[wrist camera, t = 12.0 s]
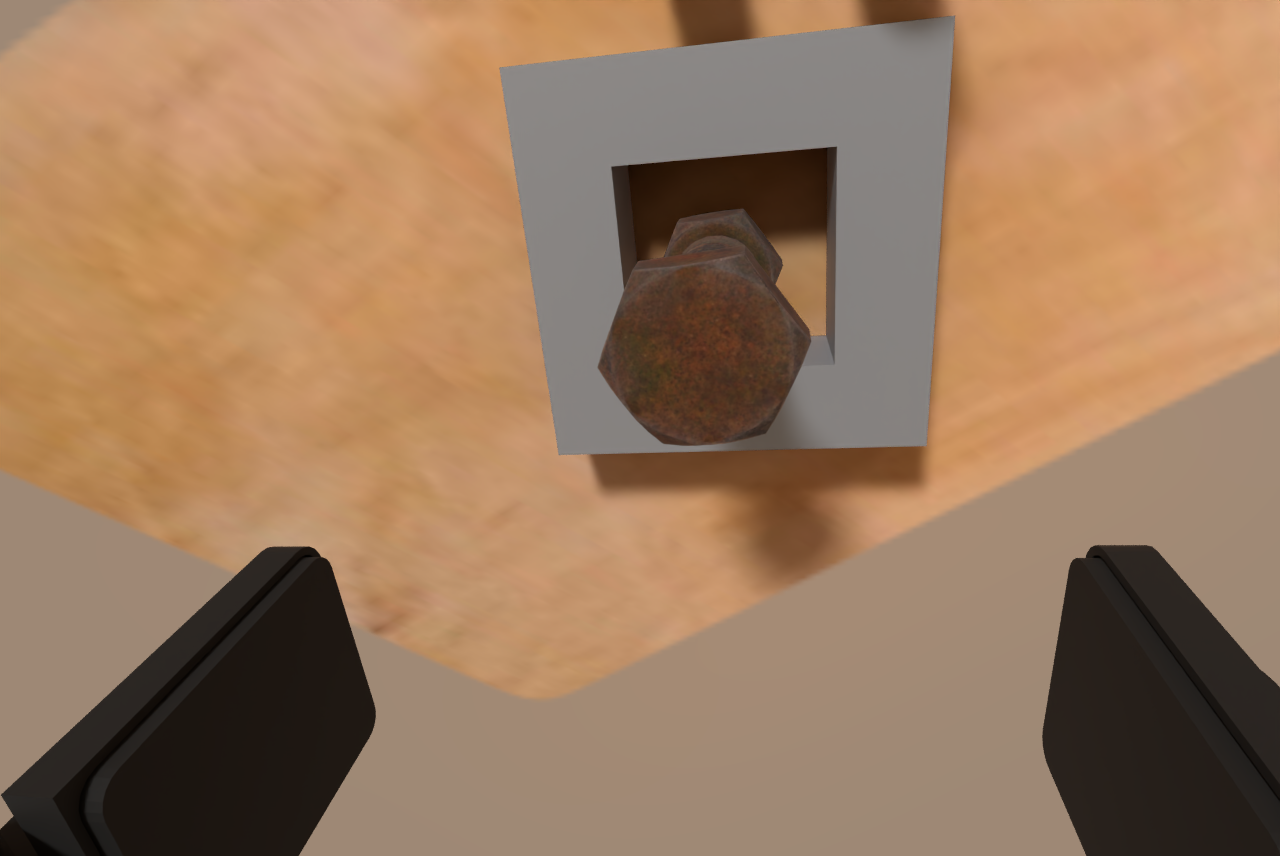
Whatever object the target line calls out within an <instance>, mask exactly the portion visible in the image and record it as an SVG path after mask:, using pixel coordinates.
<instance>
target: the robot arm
mask: <svg viewBox="0 0 1280 856" xmlns="http://www.w3.org/2000/svg"><path fill="white" fill-rule="evenodd" d="M375 718H376V711H375V705H374V702H373V698H372V695H371V692H370V689H369V685H368V682H367V679H366V676H365V673H364V670H363V666H362V663H361V660H360V657H359V653H358V650H357V647H356V644H355V640H354V637H353V634H352V631H351V628H350V624H349V621H348V618H347V615H346V611H345V608H344V605H343V602H342V599H341V595H340V592H339V589H338V586H337V583H336V579H335V576H334V573H333V570H332V567H331V565H330V562H329V561H328V560H327V559H326V558H323V557H321V556H320V554H319V553H318V552H317V551H316V550H315V549H314V548H311V547H269V548H266V549H265V550H263V551H262V552H261V553H259V554H258V555H257V556H256V557H255V558H254V559H253V560H252V561H251V562H250V563H249V564H248V565H247V566H246V567H244V568H243V569H242V570H241V571H240V572H239V573H238V574H237V575H236V576H235V577H234V578H233V579H232V580H231V581H229V583H227V584H226V585H225V586H224V587H223V588H222V589H221V590H220V591H219V592H218V593H217V594H216V595H215V596H213V597H212V598H211V599H210V600H209V601H208V602H207V603H206V604H205V605H204V606H203V607H202V608H201V609H200V610H198V611H197V612H196V613H195V614H194V615H193V616H192V617H191V618H190V619H189V620H188V621H187V622H186V623H185V624H184V625H182V626H181V628H179V629H178V630H177V631H176V632H175V633H174V634H173V635H172V636H171V637H170V638H169V639H167V640H166V641H165V642H164V643H163V644H162V645H161V646H160V647H159V648H158V649H157V650H156V651H155V652H154V653H152V654H151V655H150V656H149V657H148V658H147V659H146V660H145V661H144V662H143V663H142V664H141V665H140V666H138V667H137V668H136V669H135V670H134V671H133V672H132V673H131V674H130V675H129V676H128V677H127V678H126V679H125V680H124V681H123V682H121V683H120V684H119V685H118V686H117V687H116V688H115V689H114V690H113V691H112V692H111V693H110V694H109V695H108V696H107V697H105V698H104V699H103V700H102V701H101V702H100V703H99V704H98V705H97V706H96V707H95V708H94V709H92V710H91V711H90V712H89V713H88V714H87V715H86V716H85V717H84V718H83V719H82V720H81V721H80V722H79V723H77V724H76V725H75V726H74V727H73V728H72V729H71V730H70V731H69V732H68V733H67V734H66V735H65V736H64V737H62V738H61V739H60V740H59V741H58V742H57V743H56V744H55V745H54V746H53V747H52V748H51V749H50V750H49V751H48V752H46V753H45V754H44V755H43V756H42V757H41V758H40V759H39V760H38V761H37V762H36V763H35V764H34V765H33V766H32V767H30V768H29V769H28V770H27V771H26V772H25V773H24V774H23V775H22V776H21V777H20V778H19V779H18V780H17V781H15V782H14V783H13V784H12V785H11V786H10V787H9V788H8V789H7V790H6V791H5V792H4V793H3V794H1V796H2V797H3V799H4V801H5V802H6V804H7V806H8V807H9V809H10V810H11V812H12V814H13V815H14V816H13V818H11V819H10V820H9V821H8V822H7V823H6V824H5V825H4V826H3V827H2V828H1V829H0V856H299V854H300V853H301V851H302V849H303V847H304V846H305V844H306V843H307V841H308V839H309V838H310V836H311V834H312V832H313V831H314V829H315V828H316V826H317V824H318V822H319V821H320V819H321V817H322V816H323V814H324V812H325V811H326V809H327V807H328V806H329V804H330V802H331V800H332V799H333V797H334V796H335V794H336V792H337V791H338V789H339V787H340V786H341V784H342V782H343V781H344V779H345V777H346V775H347V774H348V772H349V771H350V769H351V767H352V765H353V764H354V762H355V761H356V759H357V757H358V756H359V754H360V752H361V751H362V748H363V747H364V745H365V744H366V742H367V740H368V739H369V737H370V735H371V733H372V731H373V728H374V724H375ZM1042 738H1043V748H1044V754H1045V758H1046V762H1047V764H1048V767H1049V769H1050V772H1051V774H1052V777H1053V779H1054V781H1055V784H1056V786H1057V788H1058V791H1059V793H1060V795H1061V797H1062V800H1063V802H1064V804H1065V807H1066V809H1067V812H1068V814H1069V816H1070V819H1071V821H1072V823H1073V826H1074V828H1075V830H1076V833H1077V835H1078V837H1079V839H1080V842H1081V844H1082V847H1083V849H1084V851H1085V854H1086V856H1280V687H1279V686H1278V685H1277V684H1276V683H1275V682H1274V681H1273V680H1272V679H1271V678H1270V677H1268V676H1267V675H1266V674H1265V673H1264V672H1263V671H1261V670H1260V669H1259V668H1258V667H1257V666H1256V664H1255V663H1254V662H1253V661H1252V660H1251V659H1250V657H1249V656H1248V655H1247V654H1246V653H1245V652H1244V651H1243V649H1242V648H1241V647H1240V646H1239V645H1238V644H1237V642H1236V641H1235V640H1234V639H1233V638H1232V637H1231V635H1230V634H1229V633H1228V632H1227V631H1226V630H1225V629H1224V627H1223V626H1222V625H1221V624H1220V623H1219V622H1218V620H1217V619H1216V618H1215V617H1214V616H1213V615H1212V613H1211V612H1210V611H1209V610H1208V609H1207V608H1206V607H1205V606H1204V604H1203V603H1202V602H1201V601H1200V600H1199V598H1198V597H1197V596H1196V595H1195V594H1194V593H1193V592H1192V590H1191V589H1190V588H1189V587H1188V586H1187V585H1186V583H1185V582H1184V581H1183V580H1182V579H1181V578H1180V577H1179V576H1178V574H1177V573H1176V572H1175V571H1174V570H1173V568H1172V567H1171V566H1170V565H1169V564H1168V563H1167V562H1166V560H1165V559H1164V558H1163V557H1162V556H1161V555H1160V553H1159V552H1158V551H1157V550H1155V549H1154V548H1153V547H1151V546H1147V545H1125V546H1124V545H1107V546H1106V545H1097V546H1093V547H1091V548H1090V549H1089V551H1088V552H1087V555H1086V558H1076V559H1074V560H1073V561H1072V563H1071V565H1070V568H1069V573H1068V579H1067V585H1066V592H1065V598H1064V604H1063V610H1062V616H1061V622H1060V628H1059V635H1058V641H1057V647H1056V653H1055V659H1054V665H1053V671H1052V677H1051V683H1050V689H1049V695H1048V702H1047V708H1046V714H1045V720H1044V726H1043V735H1042Z"/></svg>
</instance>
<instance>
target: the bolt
mask: <svg viewBox="0 0 1280 856" xmlns="http://www.w3.org/2000/svg"><path fill="white" fill-rule="evenodd" d="M782 266H783V264H782V259H781V258H780V256H779V255H778V253H777V252H776V251H775V249H774V248H773V246H772V245H771V243H770V242H769V241H768V239H767V238H766V237H765V235H764V234H763V233H762V231H761V230H760V229H759V227H758V226H757V225H756V223H755V222H754V221H753V220H752V218H751V217H750V216H749V215H748V214H747V212H746V211H745V210H744V209H734V210H725V211H718V212H711V213H705V214H700V215H694V216H690V217H685V218H681V219H679V220H678V222H677V224H676V227H675V229H674V232H673V234H672V237H671V239H670V242H669V244H668V247H667V250H666V252H665V255H664V257H662V258H656V259H649V260H643V261H638V262H637V264H636V265H635V267H634V268H633V270H632V272H631V275H630V277H629V280H628V282H627V285H626V287H625V290H624V292H623V295H622V297H621V300H620V303H619V305H618V308H617V311H616V314H615V316H614V319H613V322H612V325H611V327H610V330H609V333H608V336H607V339H606V341H605V344H604V347H603V350H602V353H601V357H600V360H599V363H598V367H597V368H598V369H599V371H600V373H601V374H602V376H603V377H604V379H605V381H606V382H607V384H608V385H609V387H610V388H611V390H612V391H613V392H614V394H615V395H616V396H617V397H618V399H619V400H620V401H621V403H622V404H623V405H624V406H625V407H626V409H627V410H628V411H629V412H630V414H631V415H632V416H633V417H634V418H635V420H636V421H637V422H638V423H639V424H640V425H642V426H643V427H644V428H645V429H646V430H647V431H648V432H649V433H650V434H651V435H653V436H654V437H655V438H656V439H658V440H659V441H660V442H661V443H663V444H669V445H679V446H702V445H716V444H726V443H731V442H736V441H741V440H746V439H749V438H753V437H756V436H760V435H763V434H766V433H767V431H768V430H769V428H770V427H771V425H772V423H773V422H774V420H775V419H776V417H777V415H778V414H779V412H780V410H781V408H782V406H783V405H784V402H785V400H786V398H787V396H788V394H789V392H790V390H791V388H792V386H793V383H794V381H795V379H796V377H797V375H798V373H799V371H800V369H801V367H802V364H803V362H804V359H805V357H806V354H807V352H808V349H809V346H810V344H811V337H810V332H809V329H808V327H807V326H806V325H805V323H804V322H803V321H802V319H801V318H800V317H799V315H798V314H797V313H796V311H795V310H794V309H793V308H792V306H791V305H790V304H789V302H788V301H787V300H786V298H785V297H784V296H783V294H782V293H781V292H780V290H779V289H778V288H777V287H776V285H775V284H776V282H777V279H778V276H779V274H780V271H781V269H782Z"/></svg>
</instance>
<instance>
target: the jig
mask: <svg viewBox="0 0 1280 856" xmlns="http://www.w3.org/2000/svg"><path fill="white" fill-rule="evenodd" d="M954 25H955V16H947V17H939V18H930V19H921V20H912V21H904V22H895V23H886V24H877V25H869V26H860V27H851V28H842V29H833V30H825V31H816V32H807V33H798V34H790V35H781V36H772V37H763V38H755V39H746V40H737V41H728V42H719V43H711V44H702V45H693V46H684V47H676V48H667V49H658V50H649V51H641V52H632V53H623V54H614V55H605V56H597V57H588V58H579V59H570V60H562V61H553V62H544V63H535V64H527V65H518V66H509V67H500V74H501V81H502V87H503V94H504V100H505V107H506V113H507V120H508V127H509V133H510V140H511V146H512V153H513V159H514V166H515V172H516V179H517V185H518V192H519V198H520V205H521V211H522V218H523V224H524V231H525V238H526V244H527V251H528V257H529V264H530V270H531V277H532V283H533V290H534V296H535V303H536V309H537V316H538V322H539V329H540V335H541V342H542V349H543V355H544V362H545V368H546V375H547V381H548V388H549V394H550V401H551V407H552V414H553V420H554V427H555V433H556V440H557V446H558V453H559V455H578V454H619V453H660V452H701V451H742V450H783V449H824V448H865V447H906V446H927V431H928V416H929V401H930V386H931V371H932V356H933V341H934V326H935V311H936V296H937V281H938V266H939V251H940V236H941V221H942V206H943V191H944V175H945V160H946V145H947V130H948V115H949V100H950V85H951V70H952V55H953V40H954ZM825 147H827V272H826V336H810V337H811V344H810V346H809V349H808V352H807V354H806V357H805V359H804V362H803V364H802V367H801V369H800V371H799V373H798V375H797V377H796V379H795V381H794V383H793V386H792V388H791V390H790V392H789V394H788V396H787V398H786V400H785V402H784V405H783V406H782V408H781V410H780V412H779V414H778V415H777V417H776V419H775V420H774V422H773V423H772V425H771V427H770V428H769V430H768V431H767V433H766V434H763V435H760V436H756V437H753V438H749V439H746V440H741V441H736V442H731V443H726V444H716V445H702V446H679V445H669V444H663V443H661V442H660V441H659V440H658V439H656V438H655V437H654V436H653V435H651V434H650V433H649V432H648V431H647V430H646V429H645V428H644V427H643V426H642V425H640V424H639V423H638V422H637V421H636V420H635V418H634V417H633V416H632V415H631V414H630V412H629V411H628V410H627V409H626V407H625V406H624V405H623V404H622V403H621V401H620V400H619V399H618V397H617V396H616V395H615V394H614V392H613V391H612V390H611V388H610V387H609V385H608V384H607V382H606V381H605V379H604V377H603V376H602V374H601V373H600V371H599V369H598V368H597V367H598V363H599V360H600V357H601V353H602V350H603V347H604V344H605V341H606V339H607V336H608V333H609V330H610V327H611V325H612V322H613V319H614V316H615V314H616V311H617V308H618V305H619V303H620V300H621V297H622V295H623V292H624V290H625V287H626V285H627V282H628V280H629V277H630V275H631V272H632V270H633V268H634V267H635V265H636V264H637V256H636V245H635V235H634V224H633V214H632V203H631V193H630V182H629V172H628V165H634V164H645V163H657V162H668V161H679V160H690V159H702V158H713V157H724V156H735V155H747V154H758V153H769V152H780V151H791V150H803V149H814V148H825Z"/></svg>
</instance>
